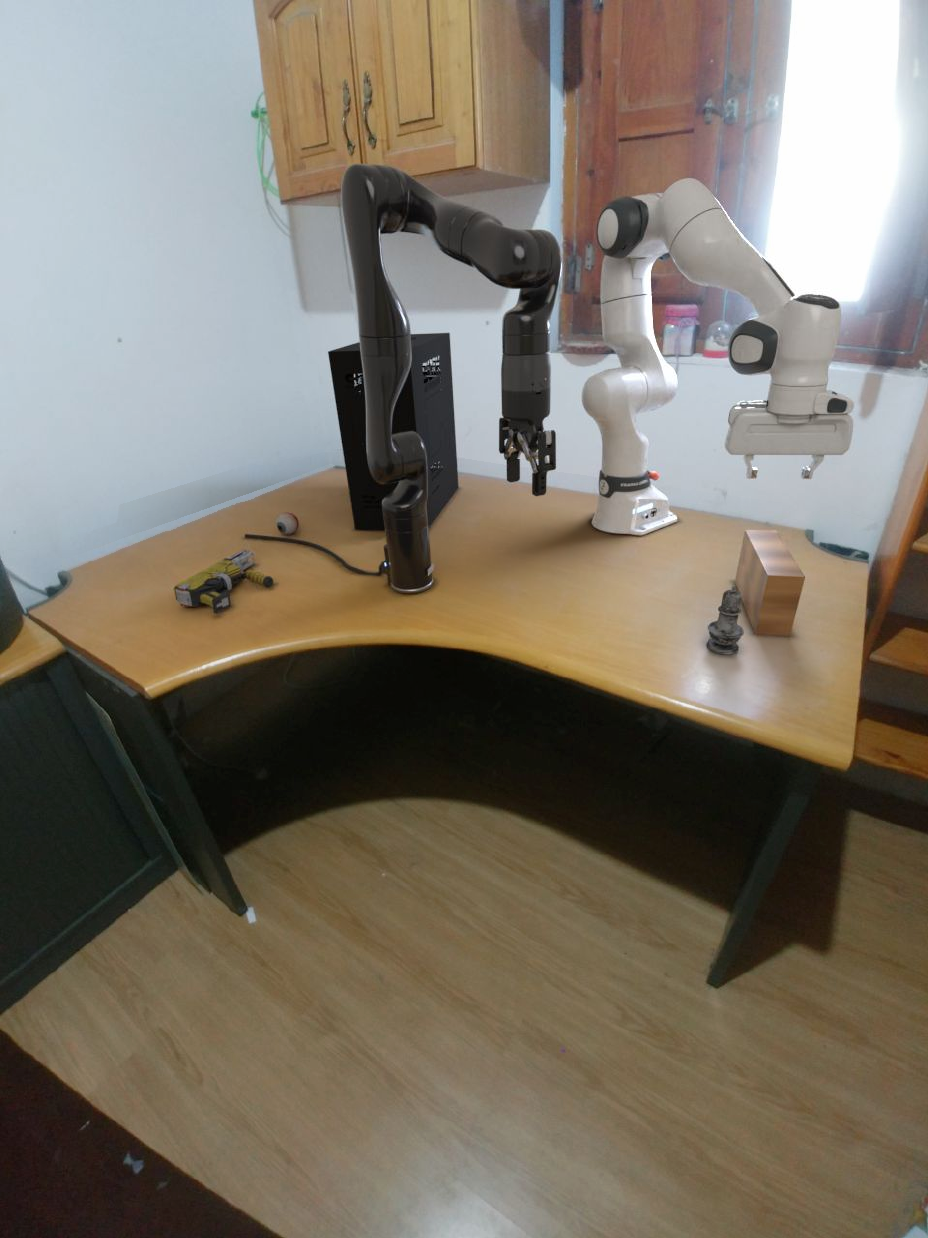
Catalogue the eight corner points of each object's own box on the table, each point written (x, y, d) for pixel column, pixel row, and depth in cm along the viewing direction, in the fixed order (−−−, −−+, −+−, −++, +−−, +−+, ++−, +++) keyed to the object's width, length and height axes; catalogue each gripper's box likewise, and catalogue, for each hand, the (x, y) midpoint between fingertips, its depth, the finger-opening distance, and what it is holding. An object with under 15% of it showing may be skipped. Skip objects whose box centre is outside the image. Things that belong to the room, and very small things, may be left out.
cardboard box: (425, 532, 161) (409, 348, 139) (354, 529, 166) (327, 351, 143) (458, 487, 193) (449, 332, 170) (398, 486, 197) (382, 335, 175)
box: (734, 582, 128) (745, 529, 122) (764, 583, 127) (776, 530, 121) (754, 634, 110) (768, 575, 104) (790, 636, 109) (805, 576, 103)
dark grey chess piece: (743, 656, 104) (756, 594, 98) (707, 654, 105) (718, 593, 99) (737, 638, 109) (749, 578, 103) (702, 636, 110) (712, 577, 104)
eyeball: (273, 537, 164) (268, 516, 161) (287, 528, 169) (282, 508, 166) (291, 539, 161) (286, 518, 158) (305, 530, 166) (301, 510, 163)
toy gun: (294, 557, 143) (240, 546, 147) (227, 600, 123) (168, 586, 127) (295, 575, 145) (243, 564, 149) (230, 620, 125) (172, 606, 129)
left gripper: (483, 381, 96) (486, 481, 104) (527, 394, 85) (527, 504, 93) (524, 376, 99) (524, 473, 107) (572, 387, 88) (568, 495, 96)
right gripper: (734, 404, 105) (721, 482, 111) (865, 402, 100) (843, 483, 107) (728, 397, 110) (716, 472, 117) (852, 395, 106) (832, 473, 113)
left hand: (525, 487), depth 100 cm, fingers open, 8 cm apart
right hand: (778, 477), depth 112 cm, fingers open, 8 cm apart
